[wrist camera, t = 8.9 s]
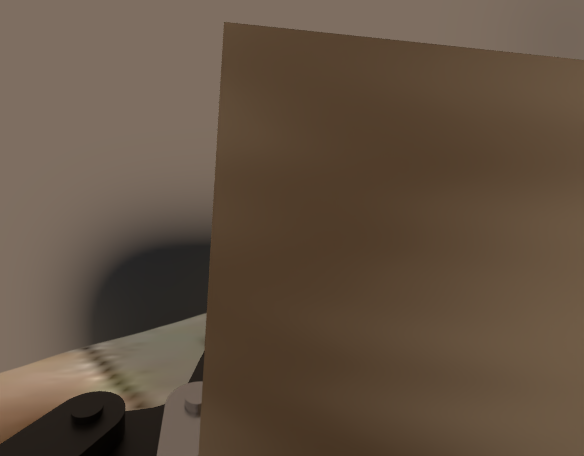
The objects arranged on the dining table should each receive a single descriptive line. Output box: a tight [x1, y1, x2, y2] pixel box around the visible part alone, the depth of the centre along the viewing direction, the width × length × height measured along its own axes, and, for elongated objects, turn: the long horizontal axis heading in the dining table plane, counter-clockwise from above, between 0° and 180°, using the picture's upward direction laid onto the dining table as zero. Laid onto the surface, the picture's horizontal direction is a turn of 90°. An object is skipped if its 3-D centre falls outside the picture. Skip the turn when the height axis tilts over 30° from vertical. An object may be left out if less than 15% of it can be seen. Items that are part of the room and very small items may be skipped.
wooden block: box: [198, 22, 584, 456], centre depth 9 cm, size 4×9×16 cm, turn 178°
